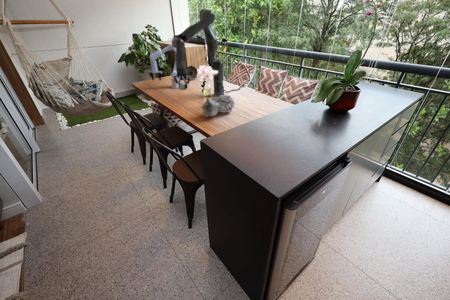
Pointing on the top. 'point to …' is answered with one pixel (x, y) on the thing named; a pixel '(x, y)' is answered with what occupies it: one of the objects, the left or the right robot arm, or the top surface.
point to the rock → (218, 105)
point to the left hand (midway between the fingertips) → (156, 80)
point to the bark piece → (191, 72)
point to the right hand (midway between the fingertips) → (183, 88)
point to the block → (182, 86)
